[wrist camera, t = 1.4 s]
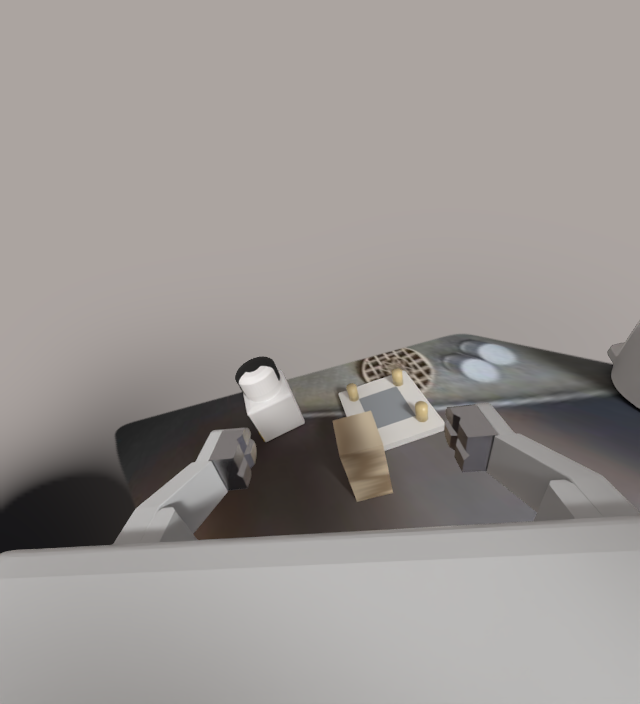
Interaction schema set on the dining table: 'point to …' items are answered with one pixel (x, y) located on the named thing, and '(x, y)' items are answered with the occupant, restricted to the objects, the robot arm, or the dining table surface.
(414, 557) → the robot arm
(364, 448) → the maple block
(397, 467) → the dining table surface
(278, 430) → the medicine bottle
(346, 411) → the white pegged board
